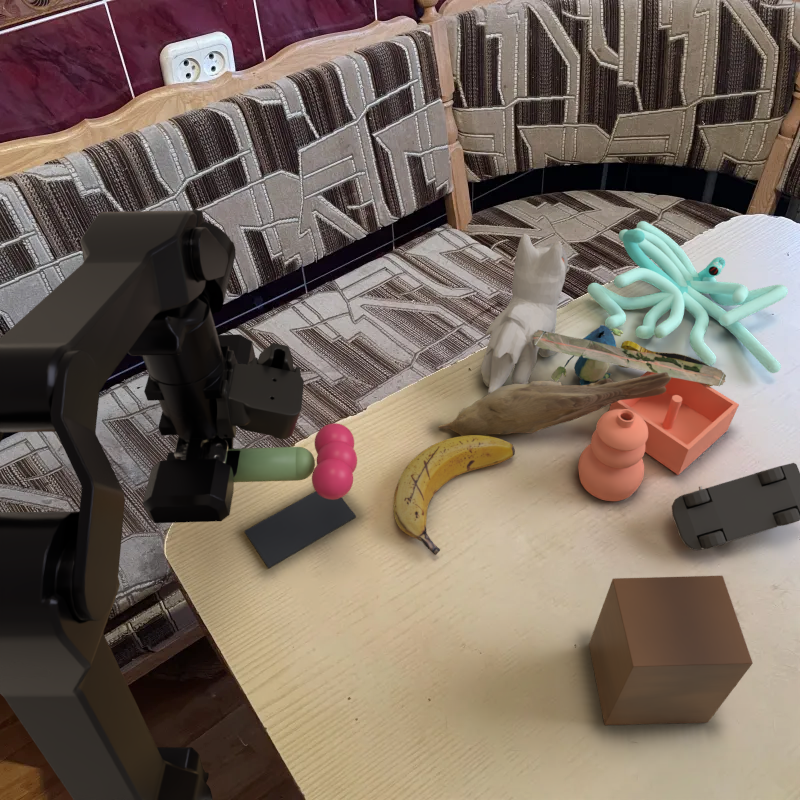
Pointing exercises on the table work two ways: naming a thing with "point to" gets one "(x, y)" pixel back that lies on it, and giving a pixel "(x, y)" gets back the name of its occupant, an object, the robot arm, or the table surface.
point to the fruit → (441, 477)
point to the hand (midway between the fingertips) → (224, 481)
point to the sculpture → (547, 404)
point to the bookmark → (629, 358)
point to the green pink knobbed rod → (305, 463)
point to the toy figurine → (590, 367)
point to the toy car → (738, 507)
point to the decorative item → (659, 353)
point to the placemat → (298, 527)
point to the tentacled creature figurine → (684, 295)
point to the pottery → (652, 436)
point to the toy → (525, 314)
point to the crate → (667, 650)
